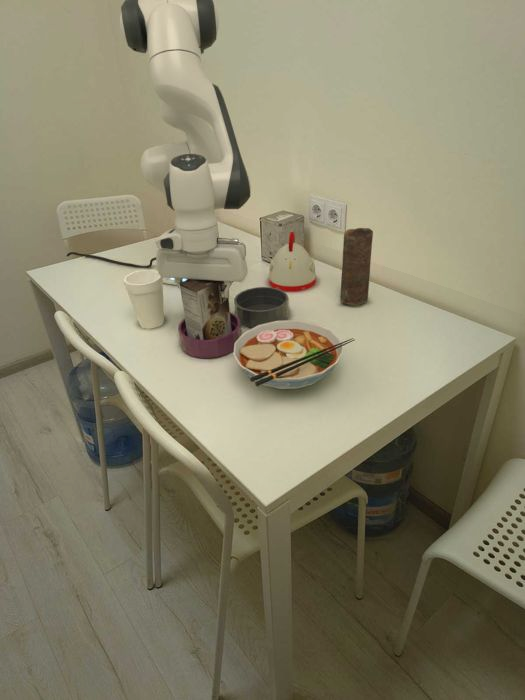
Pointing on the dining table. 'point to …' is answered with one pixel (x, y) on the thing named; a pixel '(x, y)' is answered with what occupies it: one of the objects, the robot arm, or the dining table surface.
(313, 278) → the white chicken egg cooker
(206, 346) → the plum bowl
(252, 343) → the ramen bowl
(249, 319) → the grey bowl
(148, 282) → the foam cup
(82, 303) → the dining table surface
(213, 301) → the printed food box
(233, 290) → the dining table surface
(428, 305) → the dining table surface
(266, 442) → the dining table surface
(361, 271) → the brown tall cylinder
